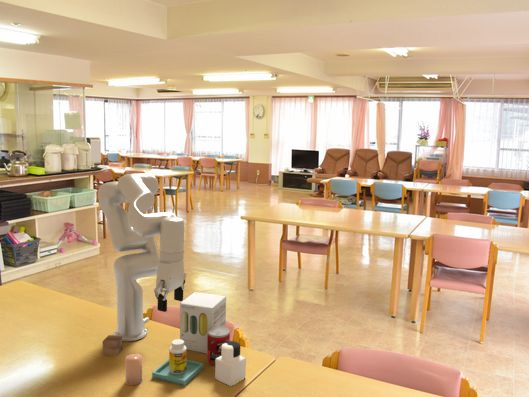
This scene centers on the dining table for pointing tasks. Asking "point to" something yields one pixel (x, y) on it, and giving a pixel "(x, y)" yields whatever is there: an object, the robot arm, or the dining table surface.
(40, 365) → the dining table surface
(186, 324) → the supplement box
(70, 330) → the dining table surface
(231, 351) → the medicine bottle
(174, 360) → the supplement bottle
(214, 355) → the canned food
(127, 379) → the peach rounded capsule
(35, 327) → the dining table surface
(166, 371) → the tray
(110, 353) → the walnut block
